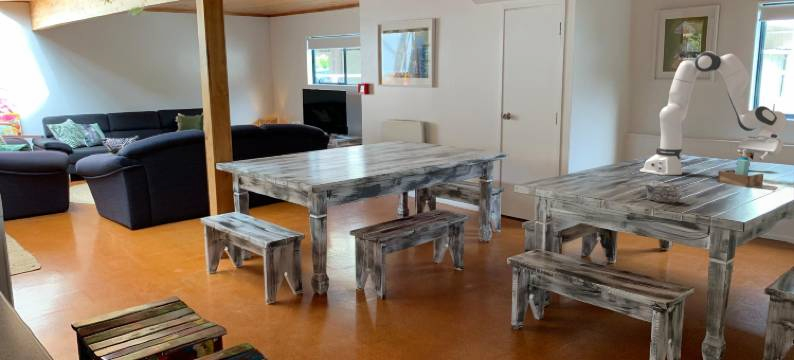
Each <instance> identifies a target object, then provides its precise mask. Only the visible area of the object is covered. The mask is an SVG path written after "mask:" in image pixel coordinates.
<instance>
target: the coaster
mask: <svg viewBox="0 0 794 360" xmlns="http://www.w3.org/2000/svg"><path fill="white" fill-rule="evenodd" d="M755 189H759V190H760V189H761V190H768V191H772V193H774V192H775V190H776V189H778V186H771V185H764V184H763V185H759V186H755Z"/></svg>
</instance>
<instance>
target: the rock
mask: <svg viewBox="0 0 794 360" xmlns="http://www.w3.org/2000/svg"><path fill="white" fill-rule="evenodd" d="M644 185H645V187H646V199H649V200H650V201H651V200H652V201H654V202H658V203H669V204H674V203H676V202H680V200H681V199H682V195H681V194H680V192H679V190H678V188H677V186H676V185H675V184H673V183H671V182H670V183H663V182H657V181H656V182H652V181H651V182H645V184H644Z"/></svg>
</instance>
